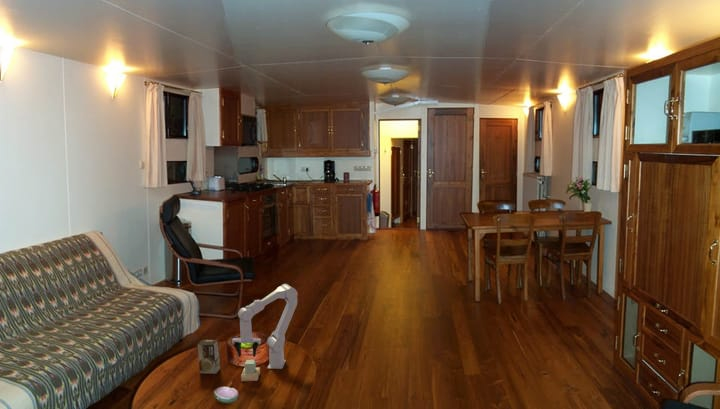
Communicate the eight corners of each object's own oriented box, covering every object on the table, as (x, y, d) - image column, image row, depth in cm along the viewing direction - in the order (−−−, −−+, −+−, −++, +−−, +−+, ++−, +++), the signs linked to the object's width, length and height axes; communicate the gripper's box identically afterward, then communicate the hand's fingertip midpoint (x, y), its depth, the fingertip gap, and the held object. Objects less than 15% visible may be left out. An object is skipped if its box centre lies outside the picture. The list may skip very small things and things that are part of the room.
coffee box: (220, 368, 266) (218, 339, 264) (216, 374, 260) (214, 344, 258) (204, 367, 267) (202, 339, 265) (199, 373, 261) (197, 344, 259)
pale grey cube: (246, 369, 258) (246, 359, 258) (255, 368, 258) (255, 359, 258) (245, 373, 254) (244, 364, 253) (254, 373, 254) (253, 363, 253)
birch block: (244, 374, 260) (244, 367, 260) (259, 373, 260) (259, 367, 260) (241, 381, 252) (241, 375, 252) (257, 381, 253) (257, 374, 252)
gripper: (229, 334, 254) (231, 359, 256) (257, 334, 253) (259, 359, 255) (233, 328, 261) (235, 353, 263) (261, 328, 260) (262, 353, 262)
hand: (247, 356), depth 259 cm, fingers open, 7 cm apart
